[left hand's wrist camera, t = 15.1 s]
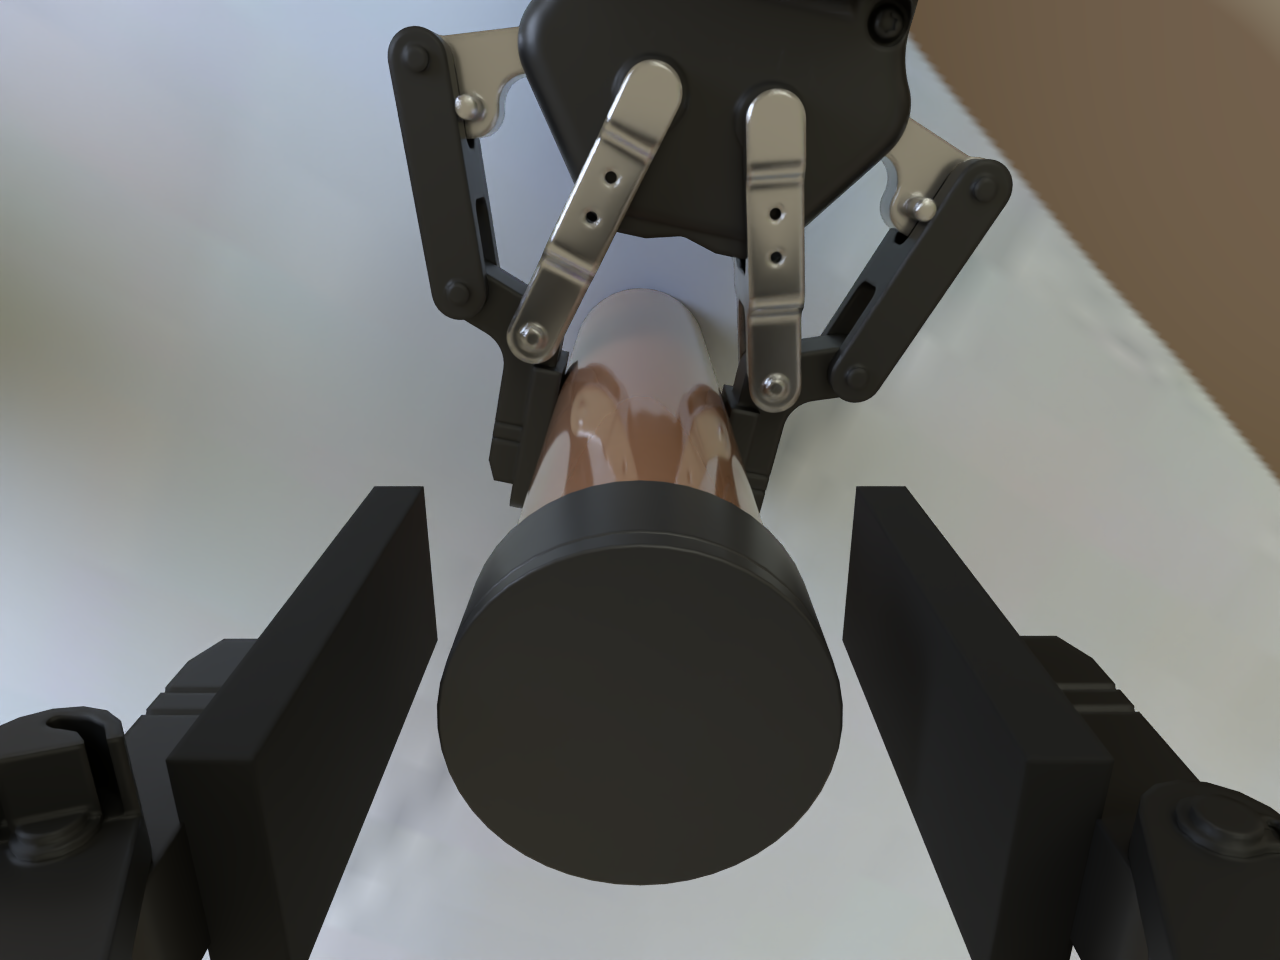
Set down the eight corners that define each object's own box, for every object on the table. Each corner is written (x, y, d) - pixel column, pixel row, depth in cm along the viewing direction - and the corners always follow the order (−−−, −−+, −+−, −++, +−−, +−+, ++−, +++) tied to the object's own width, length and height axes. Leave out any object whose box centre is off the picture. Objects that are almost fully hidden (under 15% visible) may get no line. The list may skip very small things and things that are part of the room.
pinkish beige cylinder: (675, 266, 27) (735, 488, 10) (723, 386, 29) (852, 765, 11) (553, 319, 28) (412, 615, 11) (607, 434, 29) (558, 865, 12)
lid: (418, 529, 12) (376, 603, 10) (772, 438, 11) (798, 498, 9) (527, 810, 13) (510, 919, 11) (841, 740, 13) (876, 842, 11)
